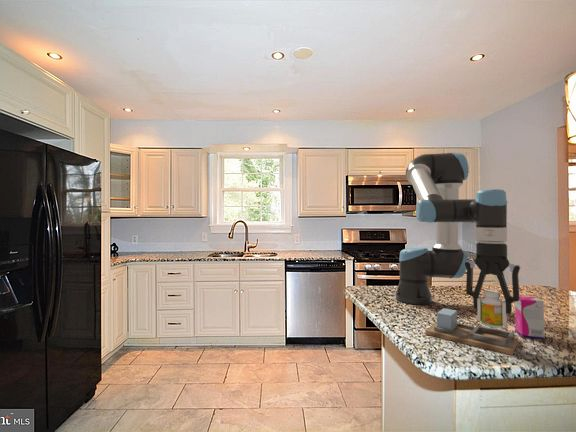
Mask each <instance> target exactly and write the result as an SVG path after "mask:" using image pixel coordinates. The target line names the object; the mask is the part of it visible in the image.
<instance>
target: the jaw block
mask: <svg viewBox="0 0 576 432" xmlns="http://www.w3.org/2000/svg"><path fill="white" fill-rule="evenodd" d="M436 322H437V327H438V328H443V329H447V330H452V331H453V330H454V329H455V328H456V327H457V323H458V310H456V309H450V308H442V309H440V310H439V311H438V312H436Z"/></svg>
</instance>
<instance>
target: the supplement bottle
mask: <svg viewBox="0 0 576 432" xmlns="http://www.w3.org/2000/svg"><path fill="white" fill-rule="evenodd" d="M483 297H484V298H482V299H481V321H480V322H481V325H482V326H484V327H488V328H493V329H500V328H503V327H504V326H503V319H502V302H503V301H504V300H502V299H500V298H501V292H500V291H499V290H491V289H486V290H483Z"/></svg>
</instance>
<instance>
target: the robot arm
mask: <svg viewBox="0 0 576 432" xmlns="http://www.w3.org/2000/svg"><path fill="white" fill-rule="evenodd" d="M469 169H470V168H469V163H468V159H467V158H466V156H465V155H464V154H463V153H461V152H448V153H446V152H445V153H442V152H441V153H425V154H421V155H418V156H416V157H415V158H414V159H412V160H411V161H410V162H409V163H408V165H407V167H406V170H405V175H406V176H405V177H406V180H407V181H408V183H410V184H411V186H412V187H413V190H414V192H415V194H416V197H417V200H418V201H417V202H416V204H415V205H416V206H415V214H416V215H415V217H416V220H418V221H419V222H420V223H421V222H422V223H435V225H436V228H435V229H436V230H435V233H436V235H435V244H433V245H432V247H431V248H432V249H431V250H429V249H428V247H425V246H424V247H423V246H421V247H418V246H417V247H408V248H404V249H402V250H400V252H399V259H398V261H399V283H398V285H397V288H396V292H395V300H396V301H399V302H401V303H405V304H412V305H429V304H432V303H433V295H432V292H431V289H430V286H429V283H428V282H429V281H428V278H441V279H442V278H444V279H446V278H447V279H461V278H462V277H464V275H465V274H466V281H465V282H466V284H465V286H466V288H465V294H466V295H468V296H471V297H472V299H473V300H472V302H473V303H472V306H473V308H474V309H475V310H476V309H477V315H476V316H477V322H481V299H482V297H483V296H482V297H481V296H480V294H481V291H482V288H483V286H484V282H485V279H486V276H487V275H492V276H496V278H497V280H498V282H499V286H500V288H501V291H502V295H503V297H504V300H502V301H503V302H502V319H503V327H506V326H507V325H508V315H511V313H512V312H513V311H512V305H513V304H512V303H515V301H516V302H517V301H518V300H519V299H520V296H521V295H520V283H519V281H520V280H519V274H520V270H521V266H520V264H513V263H511V262H510V261H509V259H508V245H507V244H506V242H507V241H508V227H507V226H508V225H507V223H508V222H507V220H508V219H507V217H508V215H507V214H508V212H507V211H508V207H507V206H508V200H507V193H506V192H507V191H506V190H504V189H500V188H498V189H497V188H496V189H495V188H494V189H481V190H477V192H476V193H475V198H474V199H469V198H465V199H459V198H460V197H459V193H460V192H459V191H460V187H462V186H463V184H464V181H466V180H467V179H468V177H469V174H470V173H469V171H470V170H469ZM459 223H471V224H473V223H475V224H476V225H475V234H476V235H475V237H476V239H475V240H476V241H477V242H476V243H475V245H476V248H475V249H476V251H475V253H476V254H475V255H476V257H475V259H474V260H471V261H469V260H468V255H467V252H465V251H464V250H463V247H462V246H461V245H460V244H459ZM475 265H476V266H477V268H478V269H479V270H480V272H479V275H478V276H479V277H478V280H477V282H476V285H475V288H474V287H473V286H474V285H473V284H474V268H475ZM507 268H509V272H511V282H512V283H511V285H512V296H511V294H510V289H509V288H508V284H507V281H506V278H505V274H504V272H505V270H506V269H507ZM473 288H474V289H473Z"/></svg>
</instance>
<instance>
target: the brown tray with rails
mask: <svg viewBox="0 0 576 432" xmlns="http://www.w3.org/2000/svg"><path fill="white" fill-rule="evenodd" d="M425 335H427V336H431V337H435V338H439V339H443V338H444V340H447V339H448V341H451V340H452V342H455V341H456V343H459V342H460V344H465V345H467V346H468V345H469V346H473V347H476V348H481V349H485V350H489V351H494V352H498V353H500V354H507V355H510V356H513V355H514V353H515V350H516V348H517V345H518V342H519V336H515V332H513V331H512V332H511V331H506V330H503V329H499V328H494V327H489V326H484V325H477V324H476V325H474V326H473V325H471V324H470V325H468V324H465V323H460V322H457V327H456V328H455V329H454V330H453V331H452V330H447V329H443V328H438V327H437V321H436V322H434V323H433V324H432V325H430V326H429V327H428V328H427V329H425Z"/></svg>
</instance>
